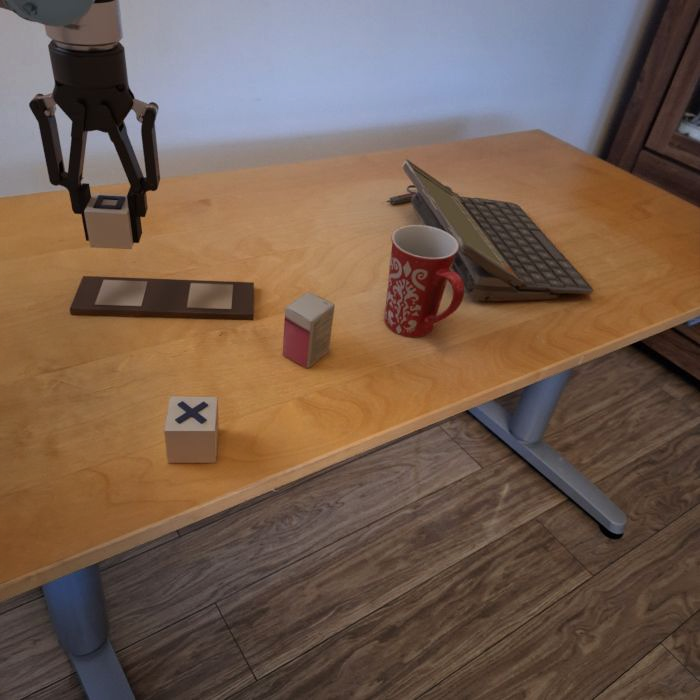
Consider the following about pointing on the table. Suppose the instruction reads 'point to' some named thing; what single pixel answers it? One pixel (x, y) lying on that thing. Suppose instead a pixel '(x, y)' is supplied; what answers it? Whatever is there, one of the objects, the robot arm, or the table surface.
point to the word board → (163, 298)
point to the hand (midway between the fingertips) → (114, 236)
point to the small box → (307, 329)
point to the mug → (420, 279)
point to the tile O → (108, 221)
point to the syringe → (405, 196)
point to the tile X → (192, 429)
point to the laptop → (494, 245)
